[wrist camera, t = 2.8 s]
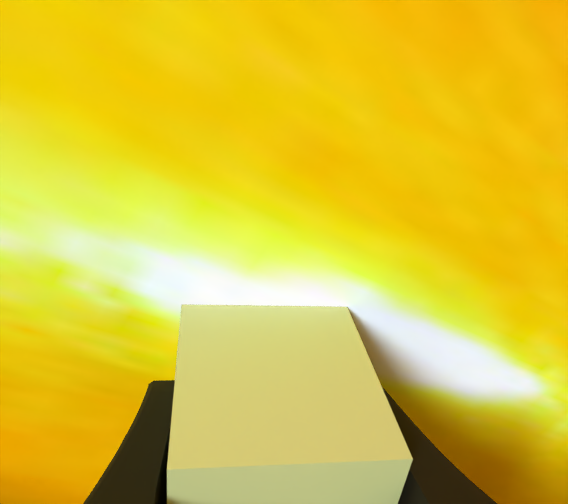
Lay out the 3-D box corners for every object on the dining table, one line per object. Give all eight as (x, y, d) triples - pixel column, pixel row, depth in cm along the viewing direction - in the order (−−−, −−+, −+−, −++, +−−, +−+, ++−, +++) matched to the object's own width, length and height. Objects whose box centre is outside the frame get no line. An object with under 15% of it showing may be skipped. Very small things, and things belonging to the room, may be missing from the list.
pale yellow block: (180, 426, 15) (167, 609, 10) (181, 303, 13) (167, 469, 8) (323, 421, 15) (367, 591, 11) (346, 306, 13) (412, 459, 9)
